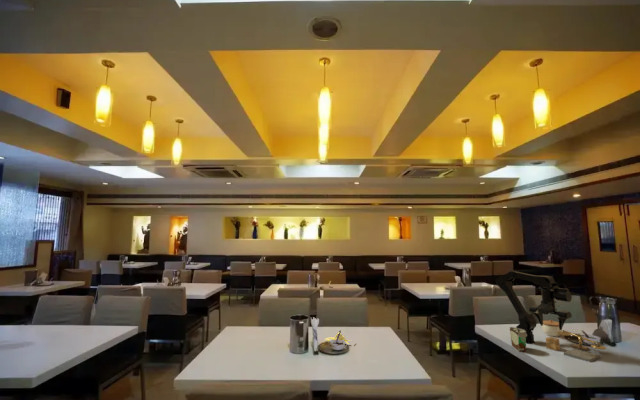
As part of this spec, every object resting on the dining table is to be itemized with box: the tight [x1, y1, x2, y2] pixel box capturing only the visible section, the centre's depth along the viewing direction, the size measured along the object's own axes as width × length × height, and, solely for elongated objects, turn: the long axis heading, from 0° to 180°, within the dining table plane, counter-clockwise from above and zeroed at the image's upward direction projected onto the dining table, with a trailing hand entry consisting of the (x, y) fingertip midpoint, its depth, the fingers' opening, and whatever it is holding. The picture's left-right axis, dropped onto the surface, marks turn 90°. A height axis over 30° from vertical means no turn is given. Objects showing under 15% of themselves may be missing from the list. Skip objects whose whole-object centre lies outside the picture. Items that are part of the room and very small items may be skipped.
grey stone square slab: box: [563, 348, 601, 363], centre depth 158 cm, size 11×11×1 cm
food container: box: [509, 326, 527, 353], centre depth 170 cm, size 12×6×10 cm, turn 168°
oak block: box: [545, 336, 561, 351], centre depth 170 cm, size 4×4×6 cm
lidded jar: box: [541, 319, 563, 338], centre depth 194 cm, size 11×11×9 cm
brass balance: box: [557, 329, 607, 352], centre depth 170 cm, size 22×6×8 cm, turn 28°
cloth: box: [324, 331, 351, 344], centre depth 183 cm, size 22×19×6 cm
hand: (551, 327), depth 171 cm, fingers open, 9 cm apart
